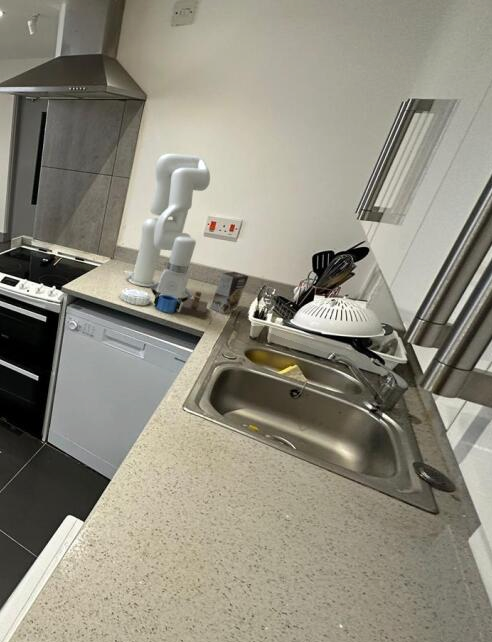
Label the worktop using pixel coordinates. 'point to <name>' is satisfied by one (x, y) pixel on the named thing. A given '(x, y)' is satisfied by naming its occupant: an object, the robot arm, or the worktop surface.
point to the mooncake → (135, 296)
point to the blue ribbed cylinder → (167, 303)
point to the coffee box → (229, 292)
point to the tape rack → (194, 306)
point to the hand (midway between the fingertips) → (165, 307)
